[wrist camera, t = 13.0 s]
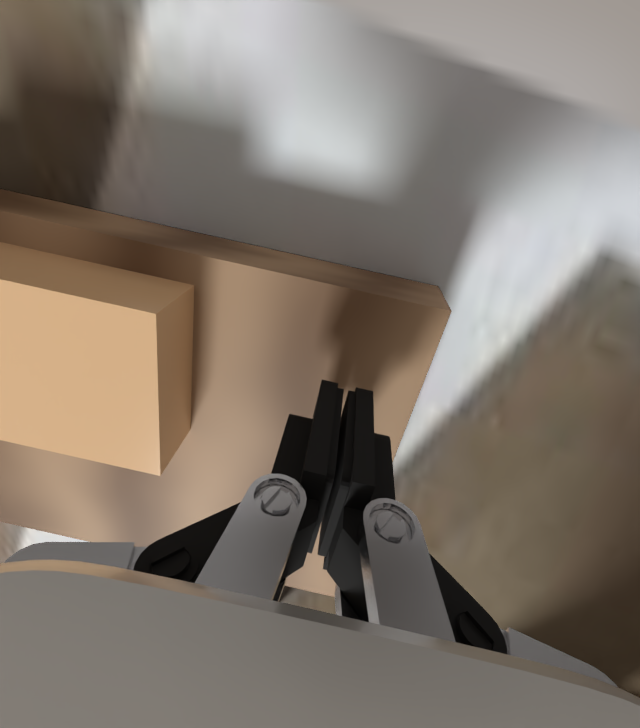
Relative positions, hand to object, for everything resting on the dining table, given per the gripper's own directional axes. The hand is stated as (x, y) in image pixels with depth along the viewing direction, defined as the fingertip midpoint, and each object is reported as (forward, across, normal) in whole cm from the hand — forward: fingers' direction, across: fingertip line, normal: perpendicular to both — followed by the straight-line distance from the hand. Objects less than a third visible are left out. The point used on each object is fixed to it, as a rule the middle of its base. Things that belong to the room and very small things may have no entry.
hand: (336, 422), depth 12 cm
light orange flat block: (+1, +9, 0) cm, 10 cm away
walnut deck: (+4, +7, +4) cm, 9 cm away
